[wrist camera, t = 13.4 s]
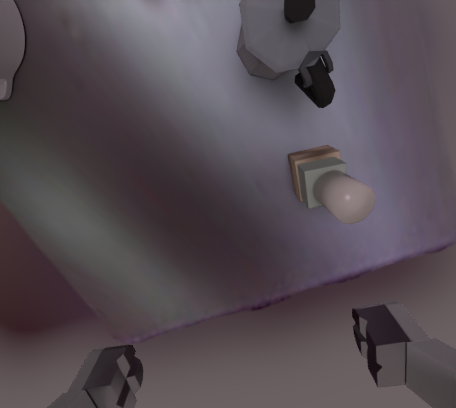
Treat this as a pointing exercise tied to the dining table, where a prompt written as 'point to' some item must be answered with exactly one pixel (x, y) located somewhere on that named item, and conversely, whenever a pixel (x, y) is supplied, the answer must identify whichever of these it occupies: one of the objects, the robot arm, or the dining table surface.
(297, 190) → the tower base
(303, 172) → the tower top
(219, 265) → the dining table surface
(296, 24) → the coffee maker
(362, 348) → the robot arm
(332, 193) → the grey rounded cylinder
